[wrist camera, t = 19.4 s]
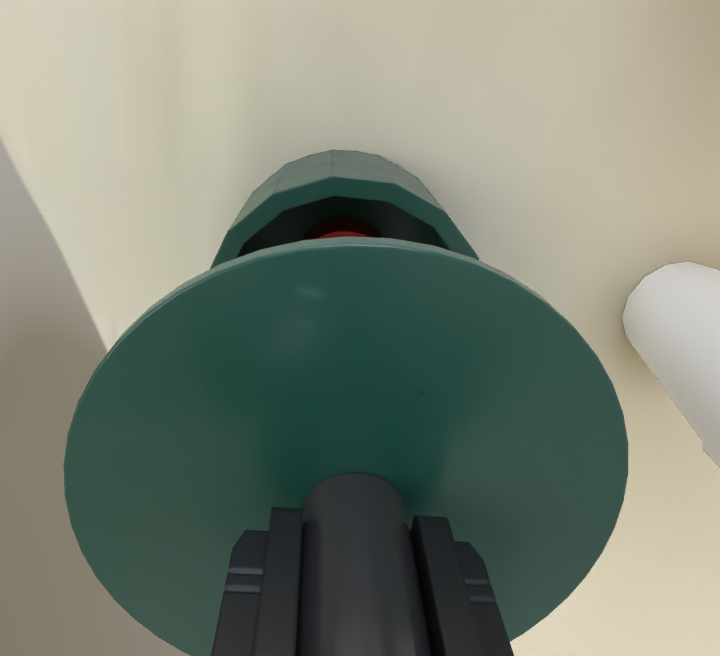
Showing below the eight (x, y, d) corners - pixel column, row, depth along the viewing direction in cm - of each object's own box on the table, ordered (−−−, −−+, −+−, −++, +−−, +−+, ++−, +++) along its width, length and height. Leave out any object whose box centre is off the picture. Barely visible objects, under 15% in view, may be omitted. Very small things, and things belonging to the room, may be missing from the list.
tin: (468, 164, 31) (514, 196, 23) (429, 364, 36) (456, 444, 28) (236, 137, 29) (203, 161, 22) (231, 348, 35) (203, 428, 27)
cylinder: (397, 222, 31) (404, 236, 28) (384, 312, 34) (389, 334, 31) (298, 211, 31) (295, 225, 28) (291, 304, 33) (288, 325, 30)
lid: (685, 262, 12) (975, 418, 7) (533, 657, 18) (625, 920, 13) (55, 193, 11) (-220, 318, 6) (102, 643, 17) (-11, 930, 11)
